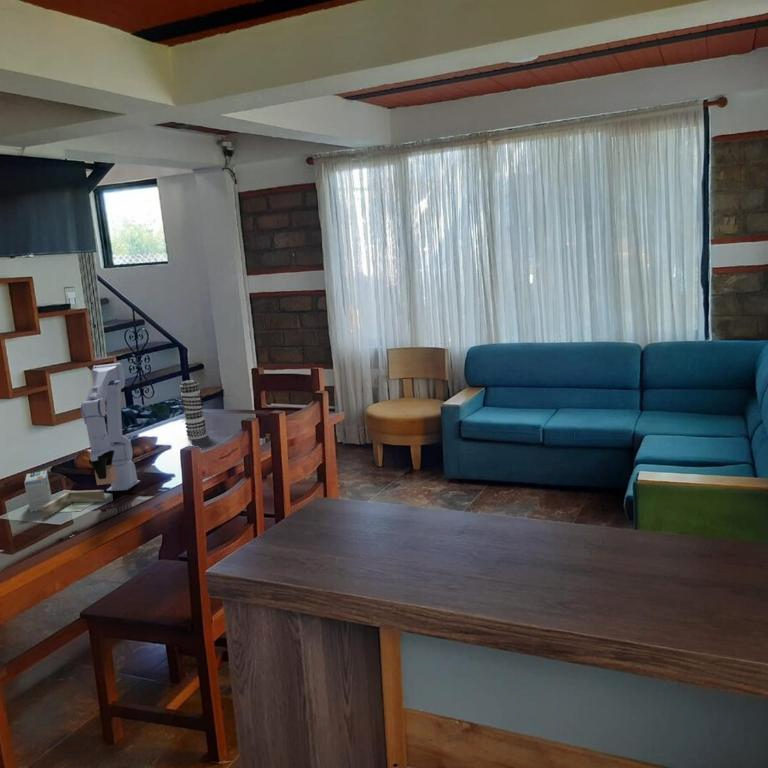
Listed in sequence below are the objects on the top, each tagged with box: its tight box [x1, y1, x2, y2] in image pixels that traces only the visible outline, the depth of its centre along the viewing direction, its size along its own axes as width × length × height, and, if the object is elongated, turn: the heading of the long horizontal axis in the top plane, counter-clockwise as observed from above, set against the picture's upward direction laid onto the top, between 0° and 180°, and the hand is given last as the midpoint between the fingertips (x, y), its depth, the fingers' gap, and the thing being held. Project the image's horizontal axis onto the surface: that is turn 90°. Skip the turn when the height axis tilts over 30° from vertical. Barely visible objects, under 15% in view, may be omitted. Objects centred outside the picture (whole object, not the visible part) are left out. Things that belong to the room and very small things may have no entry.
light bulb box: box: [24, 470, 53, 513], centre depth 251 cm, size 11×7×11 cm, turn 22°
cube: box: [93, 464, 117, 486], centre depth 245 cm, size 5×5×5 cm
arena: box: [41, 489, 106, 518], centre depth 245 cm, size 15×13×4 cm
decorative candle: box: [179, 379, 208, 440], centre depth 325 cm, size 9×9×25 cm
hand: (105, 475), depth 246 cm, fingers closed on cube, 5 cm apart
